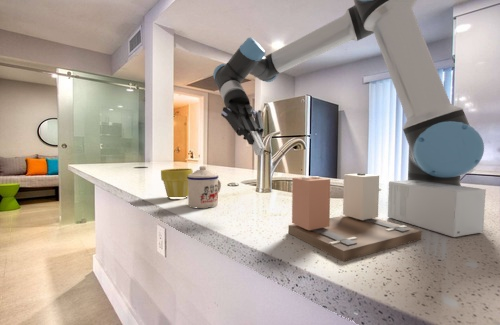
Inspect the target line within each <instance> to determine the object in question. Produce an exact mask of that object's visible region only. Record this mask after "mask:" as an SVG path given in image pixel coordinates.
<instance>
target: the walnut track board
mask: <svg viewBox="0 0 500 325" xmlns="http://www.w3.org/2000/svg"><path fill="white" fill-rule="evenodd" d="M287 228H288V229H287V230H288V231H287V232H288V234H290V235H292V236H294V237H296V238H298V239H300V240H301V241H303V242H305V243H307V244H309V245H311V246H313V247H315V248H317V249H319V250H321V251H323V252H325V253H327V254H328V255H330V256H333V257H334V258H336V259H338V260H340V261H342V262H347V261H349V260H353V259H357V258H360V257H363V256H367V255H370V254H374V253H378V252H380V251H384V250H389V249H391V248H394V247H398V246H403V245H405V244H409V243H413V242H417V241H419V240H421V239H422V230H420V229H416V228H412V227H409V226H407V225H404V224H403V225H402V224H398V223H394V222H393V221H391V222H390V221H388V220H384V219H380V218H378V217H376V218H371V219H366V220H360V219H356V218H353V217H350V216H346V215H339V216H334V217H330V223H329V227H324V228H319V229H314V230H307V229H304V228H302V227H300V226H298V225H295V224H293V223H292V224H288V227H287Z"/></svg>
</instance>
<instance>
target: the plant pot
mask: <svg viewBox="0 0 500 325" xmlns="http://www.w3.org/2000/svg"><path fill="white" fill-rule="evenodd" d="M192 173H194V172H193V169H192V168H187V167H186V168H184V167H183V168H167V169H161V170H160V177H161V181H162V182H163V184H164V189H165V192H166V196H168V197H186V196H188V178H187V177H188V175H189V174H192ZM168 197H167V198H168Z"/></svg>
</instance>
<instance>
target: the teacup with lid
mask: <svg viewBox="0 0 500 325" xmlns="http://www.w3.org/2000/svg"><path fill="white" fill-rule="evenodd" d="M187 178H188V198H187V199H188V200H187V201H188V207H190V206H191V207H190V208H192V207H197V208H196V209H198V208H203V209H209V208H208V207H212V208H214V207H213V206H215V207H217V206H218V205H219V193H220V191H221V188H222V182H221V181H220V179H219V175H218V173H215V172H213V171H211V170H210V169H207V166H206V165H201V166H199V168H198V169H197V170H195V171H194V172H193V173H192V174H189V175H188V177H187ZM216 205H217V206H216Z"/></svg>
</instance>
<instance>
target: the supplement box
mask: <svg viewBox="0 0 500 325" xmlns="http://www.w3.org/2000/svg"><path fill="white" fill-rule="evenodd" d="M486 191H487V189H486V188H485V189H484V188H479V187H473V186H472V187H471V186H464V185H461V186H457V185H449V184H441V183H434V182H426V181H418V180H408V179H407V180H394V181H393V180H391V181H388V194H387V196H388V201H387V218H389V219H392V220H395V221H396V220H397V221H399V222H403V223H406V224H410V225H413V226H416V227H419V228H422V229H426V230H429V231H432V232H435V233H439V234H442V235H446V236H449V237H452V238H456V237H457V238H458V237H462V236H467V235H474V234H480V233H484V228H485V227H484V225H485V222H484V221H485V206H486V204H485V203H486V193H487V192H486Z"/></svg>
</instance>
